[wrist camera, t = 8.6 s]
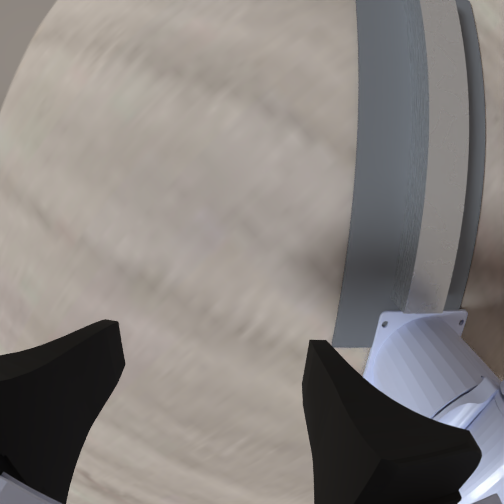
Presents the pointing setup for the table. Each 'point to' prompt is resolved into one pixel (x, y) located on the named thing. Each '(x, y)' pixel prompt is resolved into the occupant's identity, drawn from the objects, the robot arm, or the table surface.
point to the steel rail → (433, 157)
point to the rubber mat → (397, 168)
